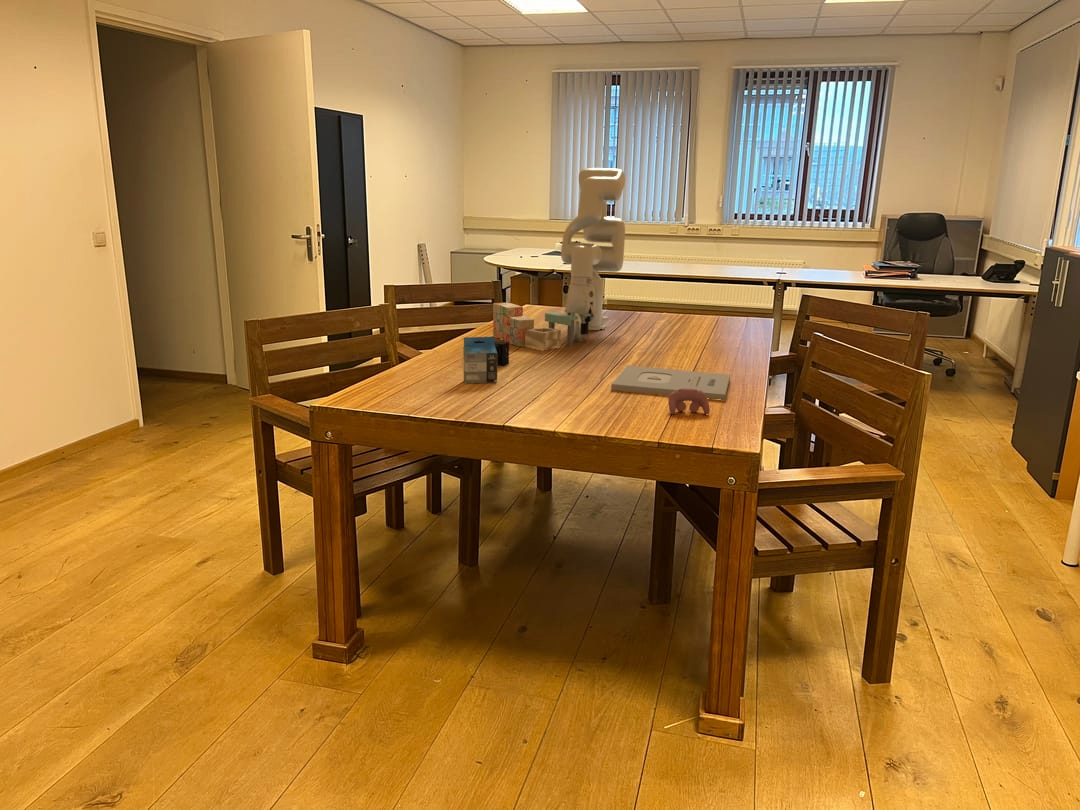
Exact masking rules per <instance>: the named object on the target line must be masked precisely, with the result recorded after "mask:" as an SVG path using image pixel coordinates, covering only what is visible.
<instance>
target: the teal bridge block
mask: <svg viewBox="0 0 1080 810" xmlns="http://www.w3.org/2000/svg"><path fill="white" fill-rule="evenodd" d="M574 320H578V316H572V315H567V314H566V313H560V312H554V311H551V312H545V313H544V322H548V328H551V329H556V328H555V327H556V326H555V324H558V325H565V326H567V335H566V346H569V345H572V346H574V340H573V339H574Z"/></svg>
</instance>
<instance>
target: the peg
mask: <svg viewBox="0 0 1080 810" xmlns="http://www.w3.org/2000/svg"><path fill="white" fill-rule="evenodd" d="M574 316H578V320H574V335H573V342H578V343H579V342H585V341H586V338H585V337H586V334H584V335H581V323H583V322H582V315H581V314H578V313H574ZM585 317H586V316H585Z"/></svg>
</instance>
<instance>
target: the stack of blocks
mask: <svg viewBox="0 0 1080 810" xmlns="http://www.w3.org/2000/svg"><path fill="white" fill-rule="evenodd" d="M492 308H493V309H492V311H493V313H492V319H493V321H492V322H493V323H492V324H493V328H492V337H494V336H496V337H497V338H496V337H495V338H496V339H498V338H500V339H502V340H501V341H503V340H504V341H503V342H505V341H506V342H509V345H512V344H513V346H514V345H515V346H514V347H517V346H521V347H525V330H527V329H534V327H535V319H534V318H531V317H528V316H525V315H524V307H523V306H520V305H518V304H514V303H510V302H494V303H493V304H492ZM500 339H499V340H500Z"/></svg>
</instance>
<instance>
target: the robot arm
mask: <svg viewBox="0 0 1080 810" xmlns="http://www.w3.org/2000/svg"><path fill="white" fill-rule="evenodd" d="M625 182H626V174H625V172H624V170H623V169H620V168H611V167H610V168H609V167H608V168H607V167H605V168H604V167H589V168H582V170H580V171H579V173H578V186H579V190H580V193H579V202H578V210H577V216H576V217H575V218H574V219H572V220H571V221H570V222H569V224H568V225H567V227H566V228H565V230H564V232H563V235H562V241H561V250H560V257H561V261H562V262H563V263H564V264H568V265H570V284H569V285H568V289H567V295H566V297H567V298H566V307H565V308H564V313H565V314H566V315H572V316H574V313H578V314H581V315H582V322H583V323H581V335H584V334H585V335H588V333H589V331H601V330H600V329H602V330H605V329H606V325H605V324H604V322H609V320H610V318H609V317H608V316H603V299H604V298H603V296H604V282H603V280H602V278H601V276H600V274H599V273H598V272H607V273H608V272H610V273H617V272H620V271H622V268H623V264H624V255H625V254H624V253H625V241H626V240H625V239H626V225H625V222H624V220H623V219H621V218H618V217H607V215H608V214H607V212H608V203H607V202H618V201H619V200H621V199H620V198H621V196H622V194H623V190H624V187H625V184H626V183H625ZM581 231H582V233H583V234H582V235H583V236H582V237H583V238H584V240H585V241H586V242H588V243H585V242H571V240H572V239H573V237H574V236H575V235H576V234H578V233H579V232H581ZM596 243H598V244H611V246H609V245H607V246H606V245H598V244H596ZM585 316H586V317H585ZM604 328H605V329H604Z"/></svg>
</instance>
